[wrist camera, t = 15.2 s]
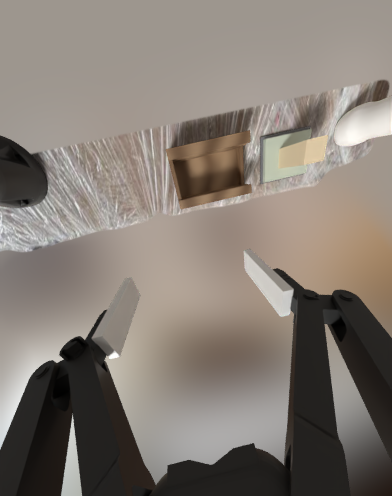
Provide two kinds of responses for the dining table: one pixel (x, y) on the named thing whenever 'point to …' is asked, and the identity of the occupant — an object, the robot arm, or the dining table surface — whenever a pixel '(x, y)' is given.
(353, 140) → the bottle
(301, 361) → the robot arm
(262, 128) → the dining table surface
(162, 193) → the dining table surface
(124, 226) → the dining table surface
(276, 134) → the mat
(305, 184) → the dining table surface
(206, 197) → the walnut box
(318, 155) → the lid
